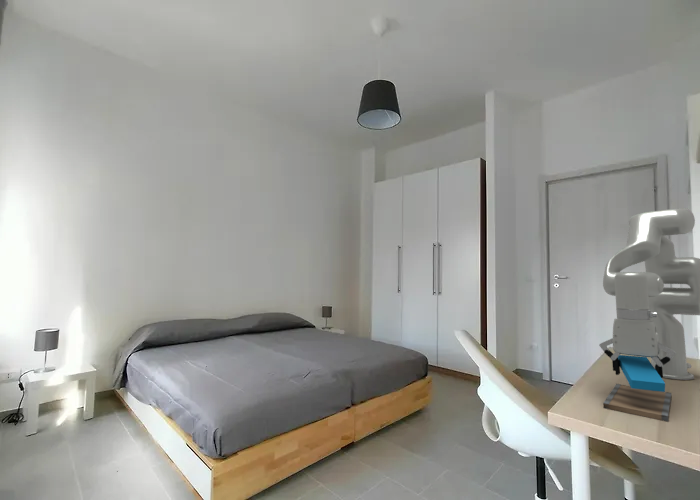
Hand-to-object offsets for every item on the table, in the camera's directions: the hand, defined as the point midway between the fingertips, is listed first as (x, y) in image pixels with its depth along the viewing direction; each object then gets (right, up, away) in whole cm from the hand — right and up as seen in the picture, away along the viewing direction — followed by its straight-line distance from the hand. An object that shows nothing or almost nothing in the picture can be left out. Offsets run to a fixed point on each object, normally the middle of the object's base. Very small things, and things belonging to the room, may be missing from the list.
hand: (637, 376), depth 98 cm
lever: (0, -1, 0) cm, 1 cm away
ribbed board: (0, -7, -1) cm, 7 cm away
